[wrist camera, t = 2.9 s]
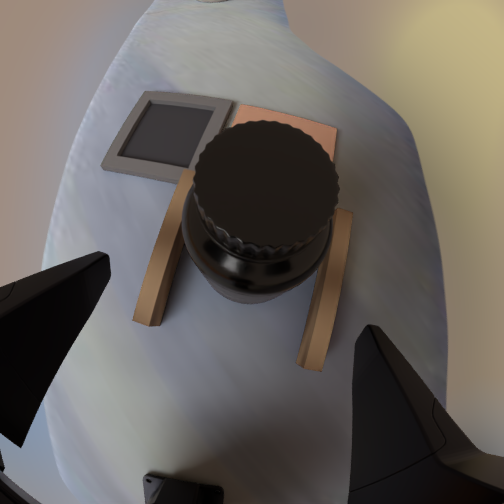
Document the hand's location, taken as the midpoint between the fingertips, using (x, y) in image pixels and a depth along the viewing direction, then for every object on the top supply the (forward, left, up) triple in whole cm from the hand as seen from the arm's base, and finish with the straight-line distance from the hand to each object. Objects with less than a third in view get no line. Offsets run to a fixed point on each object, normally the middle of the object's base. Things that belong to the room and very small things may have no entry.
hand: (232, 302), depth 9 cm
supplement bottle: (+4, -1, -11) cm, 12 cm away
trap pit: (+15, +8, -11) cm, 20 cm away
